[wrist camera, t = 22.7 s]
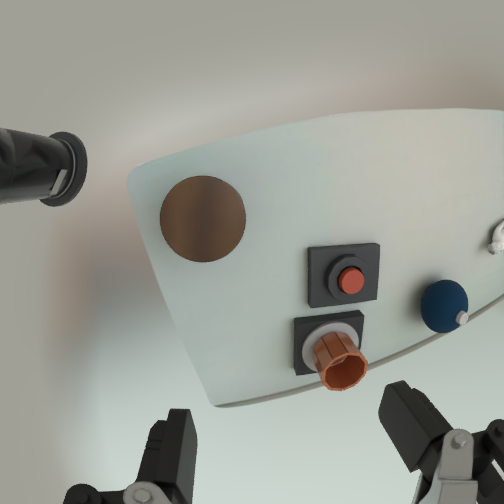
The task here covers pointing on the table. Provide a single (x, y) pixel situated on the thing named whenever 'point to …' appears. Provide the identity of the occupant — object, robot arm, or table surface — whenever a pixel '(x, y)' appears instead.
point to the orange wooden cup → (333, 352)
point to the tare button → (351, 280)
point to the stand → (202, 218)
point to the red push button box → (330, 267)
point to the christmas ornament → (444, 306)
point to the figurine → (497, 240)
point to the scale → (316, 328)
